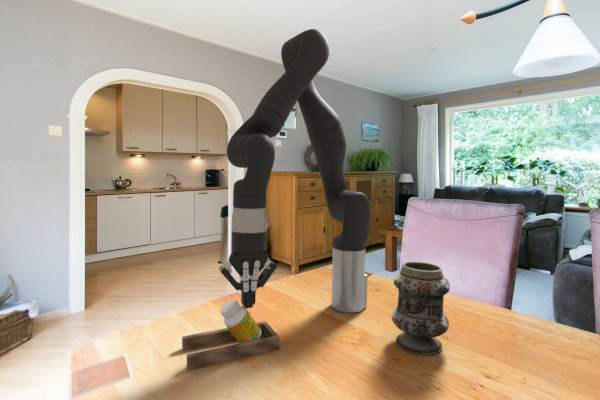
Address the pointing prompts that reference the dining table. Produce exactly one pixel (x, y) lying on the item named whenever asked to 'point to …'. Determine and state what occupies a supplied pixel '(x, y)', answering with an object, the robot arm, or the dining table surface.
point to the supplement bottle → (240, 322)
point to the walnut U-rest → (230, 351)
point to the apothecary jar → (420, 307)
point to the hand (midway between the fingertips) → (248, 306)
